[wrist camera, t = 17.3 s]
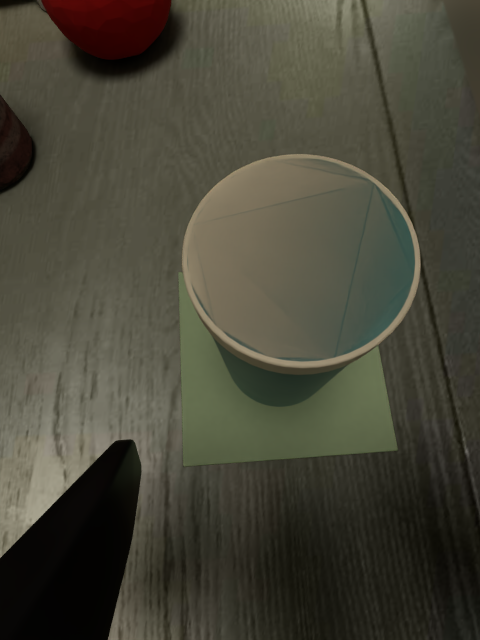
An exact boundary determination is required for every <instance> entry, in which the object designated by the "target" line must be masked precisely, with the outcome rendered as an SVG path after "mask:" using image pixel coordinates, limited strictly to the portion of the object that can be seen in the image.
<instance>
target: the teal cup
mask: <svg viewBox="0 0 480 640" xmlns="http://www.w3.org/2000/svg"><path fill="white" fill-rule="evenodd" d="M182 270H183V278H184V282H185V286H186V289H187V293H188V295H189V297H190V299H191V302H192V304H193V306H194V308H195V310H196V312H197V314H198V316H199V318H200V320H201V321H202V323H203V324H204V326H205V327H206V329H207V330H208V331H209V333H210V334H211V335H212V337H213V339H214V341H215V343H216V345H217V347H218V350H219V352H220V354H221V356H222V358H223V360H224V362H225V364H226V367H227V369H228V371H229V373H230V375H231V377H232V379H233V381H234V382H235V384H236V385H237V386H238V388H239V389H240V390H241V391H242V392H243V393H244V394H245V395H247V396H248V397H249V398H251V399H253V400H255V401H256V402H259V403H261V404H264V405H268V406H275V407H285V406H291V405H295V404H298V403H301V402H303V401H305V400H306V399H308V398H309V397H311V396H312V395H313V394H315V393H316V392H317V391H318V390H319V389H320V388H322V387H323V386H324V385H325V384H326V383H328V382H329V381H330V380H331V379H332V378H333V377H335V376H336V375H337V374H338V373H339V372H340V371H342V370H343V369H344V368H345V367H346V366H347V365H349V364H350V363H352V362H354V361H356V360H358V359H360V358H361V357H363V356H364V355H366V354H367V353H369V352H370V351H371V350H373V349H374V348H375V347H376V346H378V345H379V344H380V343H381V342H382V341H383V340H385V339H386V338H387V337H388V336H389V335H390V334H391V333H392V332H393V331H394V330H395V329H396V328H397V326H398V325H399V324H400V323H401V322H402V320H403V318H404V317H405V315H406V314H407V312H408V310H409V309H410V307H411V304H412V302H413V299H414V297H415V295H416V291H417V287H418V283H419V277H420V250H419V245H418V240H417V236H416V233H415V230H414V228H413V225H412V222H411V221H410V219H409V217H408V215H407V213H406V211H405V210H404V208H403V207H402V205H401V204H400V203H399V201H398V200H397V199H396V197H395V196H394V195H393V194H392V193H391V192H390V191H389V190H388V189H387V188H386V187H385V186H384V185H382V184H381V183H380V182H379V181H378V180H376V179H375V178H373V177H372V176H370V175H369V174H367V173H366V172H364V171H362V170H360V169H358V168H356V167H354V166H352V165H350V164H347V163H345V162H342V161H339V160H336V159H332V158H328V157H323V156H316V155H305V154H292V155H281V156H275V157H270V158H266V159H262V160H259V161H256V162H253V163H251V164H248V165H246V166H244V167H242V168H240V169H238V170H236V171H234V172H233V173H231V174H229V175H228V176H227V177H225V178H224V179H223V180H221V181H220V182H219V183H218V184H217V185H215V186H214V187H213V188H212V189H211V190H210V191H209V192H208V194H207V195H206V196H205V197H204V198H203V200H202V201H201V202H200V204H199V205H198V207H197V208H196V210H195V212H194V213H193V216H192V218H191V220H190V222H189V224H188V227H187V230H186V234H185V237H184V242H183V249H182Z"/></svg>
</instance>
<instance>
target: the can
mask: <svg viewBox="0 0 480 640" xmlns="http://www.w3.org/2000/svg"><path fill="white" fill-rule="evenodd" d="M31 158H32V140H31V137H30V135H29V133H28V131H27V129H26V128H25V127H24V125H23V124H22V123H21V121H20V120H19V119H18V117H17V116H16V115H15V114H14V112H13V111H12V110H11V108H10V107H9V106H8V104H7V103H6V102H5V100H4V99H3V98H2V96H1V95H0V190H2V189H4V188H6V187H8V186H10V185H12V184H13V183H14V182H16V181H17V180H18V179H19V178H20V177H22V175H23V174H24V173H25V171H26V170H27V168H28V167H29V164H30V161H31Z"/></svg>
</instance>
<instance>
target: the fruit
mask: <svg viewBox="0 0 480 640" xmlns="http://www.w3.org/2000/svg"><path fill="white" fill-rule="evenodd" d="M41 2H42V4H43V6H44V8H45V9H46V11H47V13H48V15H49V16H50V18H51V19H52V21H53V22H54V23H55V24H56V26H57V27H58V28H59V29H60V31H61V32H62V33H63V34H64V35H65V36H66V37H67V38H68V39H69V40H70V41H71V42H73V43H74V44H75V45H77V46H78V47H79V48H80V49H82V50H83V51H84V52H87V53H89V54H91V55H93V56H96V57H98V58H101V59H106V60H116V59H121V58H126V57H130V56H135V55H140V54H141V53H142V52H144V51H145V50H146V49H147V48H148V47H149V46H150V45H151V44H152V43H153V42H154V41H155V40H156V38H157V37H158V36H159V35H160V34H161V32H162V30H163V29H164V27H165V24H166V22H167V19H168V15H169V11H170V7H171V0H41Z"/></svg>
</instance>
